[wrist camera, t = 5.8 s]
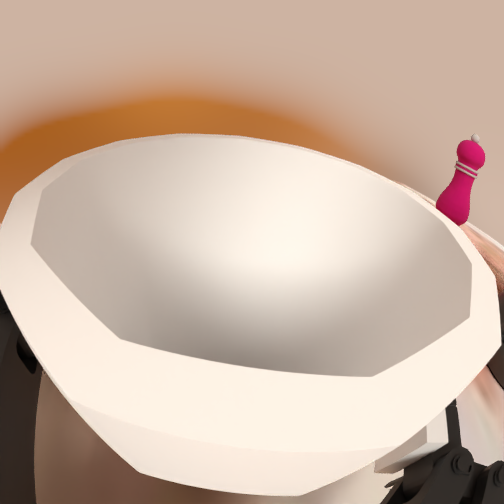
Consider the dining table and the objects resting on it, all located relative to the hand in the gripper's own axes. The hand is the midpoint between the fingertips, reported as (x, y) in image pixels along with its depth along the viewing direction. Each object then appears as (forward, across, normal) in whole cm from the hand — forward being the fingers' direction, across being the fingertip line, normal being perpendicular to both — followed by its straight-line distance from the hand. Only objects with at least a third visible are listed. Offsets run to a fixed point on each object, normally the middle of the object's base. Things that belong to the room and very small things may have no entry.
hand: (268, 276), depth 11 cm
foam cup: (-4, 0, -8) cm, 9 cm away
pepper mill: (+40, +28, -8) cm, 49 cm away
